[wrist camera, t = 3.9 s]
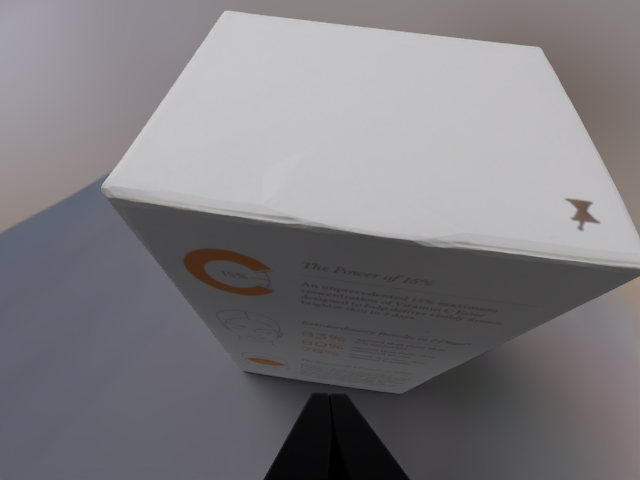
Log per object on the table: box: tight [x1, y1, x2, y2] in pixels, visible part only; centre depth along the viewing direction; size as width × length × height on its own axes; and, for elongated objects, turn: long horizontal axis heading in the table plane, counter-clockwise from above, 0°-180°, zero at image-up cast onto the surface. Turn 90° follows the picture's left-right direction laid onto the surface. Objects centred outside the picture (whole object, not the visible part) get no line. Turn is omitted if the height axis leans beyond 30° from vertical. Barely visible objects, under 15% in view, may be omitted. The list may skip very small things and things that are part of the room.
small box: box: [101, 11, 640, 394], centre depth 11 cm, size 8×6×13 cm
